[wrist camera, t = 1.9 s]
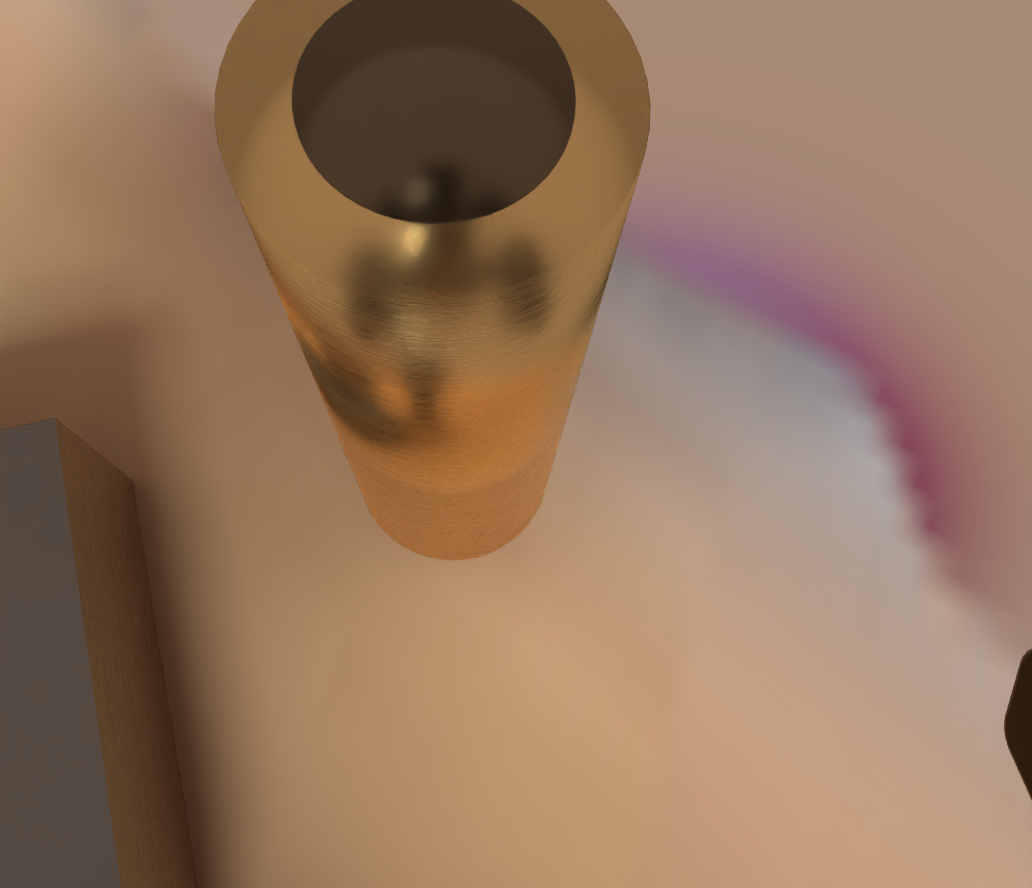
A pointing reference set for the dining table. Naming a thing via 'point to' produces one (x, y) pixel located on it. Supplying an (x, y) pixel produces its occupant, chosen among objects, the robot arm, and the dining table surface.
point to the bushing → (438, 231)
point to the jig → (80, 679)
